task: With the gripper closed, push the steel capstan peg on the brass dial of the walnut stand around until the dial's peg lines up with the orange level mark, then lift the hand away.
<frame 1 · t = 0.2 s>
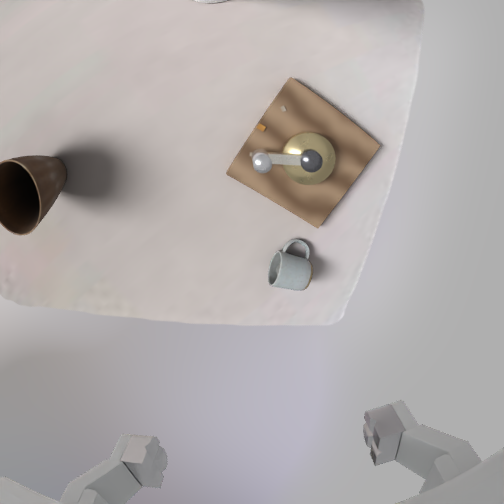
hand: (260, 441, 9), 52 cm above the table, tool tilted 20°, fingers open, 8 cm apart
plant pot: (54, 172, 53), on the table
capstan dial: (296, 160, 49), point 6 cm above the table, hinge at 30.0°
ceramic mug: (288, 257, 67), on the table
level stand: (304, 154, 54), on the table
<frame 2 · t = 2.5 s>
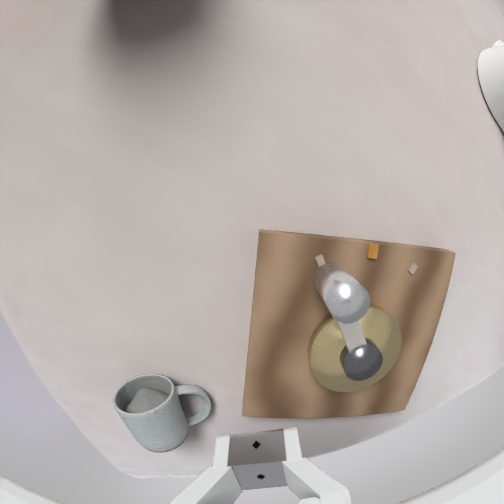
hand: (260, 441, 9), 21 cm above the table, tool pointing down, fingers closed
capstan dial: (357, 344, 24), point 6 cm above the table, hinge at 30.0°
ceramic mug: (170, 394, 33), on the table
level stand: (347, 336, 31), on the table
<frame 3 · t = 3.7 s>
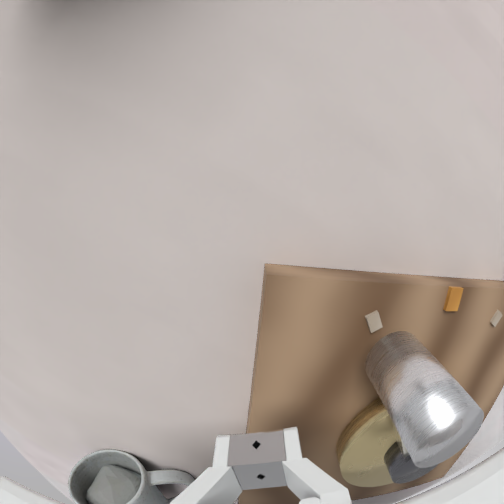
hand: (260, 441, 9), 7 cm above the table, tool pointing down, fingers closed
capstan dial: (419, 449, 11), point 6 cm above the table, hinge at 30.0°
ceramic mug: (144, 471, 20), on the table
level stand: (391, 412, 18), on the table
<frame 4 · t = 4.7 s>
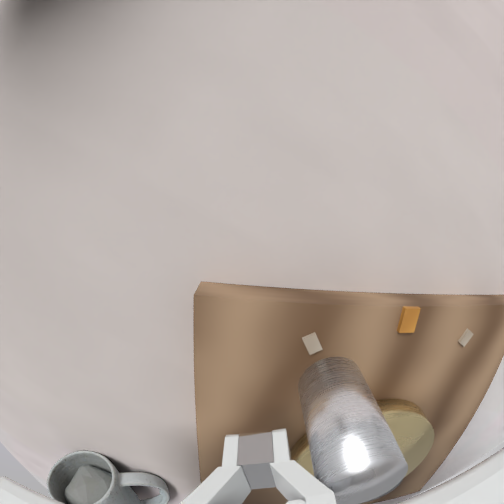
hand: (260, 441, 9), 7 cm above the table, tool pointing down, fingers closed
capstan dial: (367, 474, 11), point 6 cm above the table, hinge at 29.6°, touching gripper
ceramic mug: (120, 472, 20), on the table
level stand: (352, 428, 18), on the table
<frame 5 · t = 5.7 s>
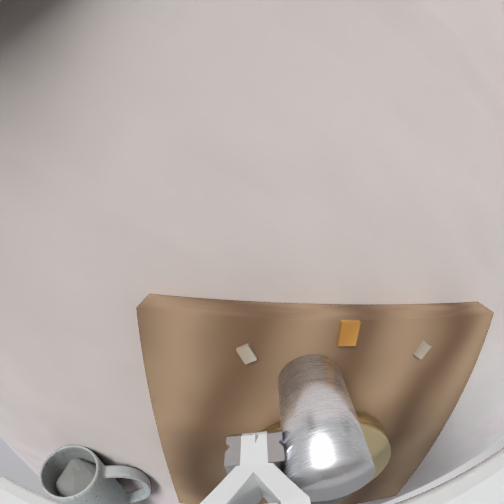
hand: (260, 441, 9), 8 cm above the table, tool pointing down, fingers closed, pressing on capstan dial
capstan dial: (321, 479, 12), point 6 cm above the table, hinge at 13.6°, touching gripper
ceramic mug: (107, 466, 22), on the table
level stand: (312, 433, 19), on the table
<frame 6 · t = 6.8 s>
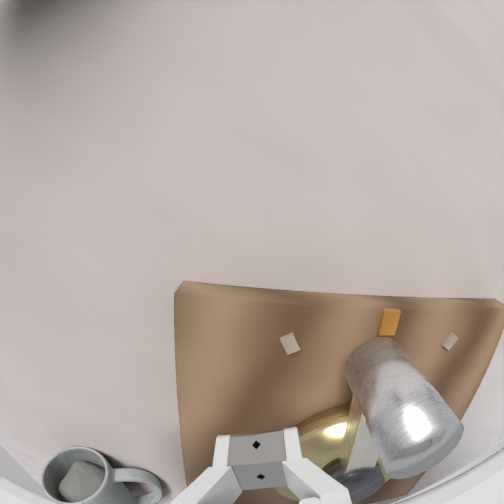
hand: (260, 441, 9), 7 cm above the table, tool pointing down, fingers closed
capstan dial: (364, 470, 12), point 6 cm above the table, hinge at 7.9°
ceramic mug: (113, 468, 21), on the table
level stand: (336, 430, 18), on the table
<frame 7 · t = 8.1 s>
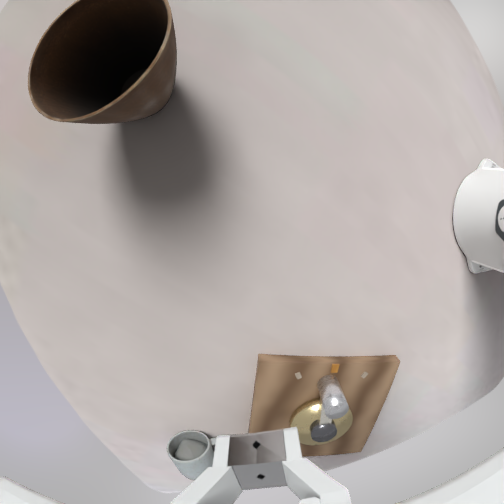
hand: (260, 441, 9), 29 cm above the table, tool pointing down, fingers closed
plant pot: (147, 91, 33), on the table
capstan dial: (326, 423, 36), point 6 cm above the table, hinge at 7.9°
ceramic mug: (203, 441, 45), on the table
level stand: (317, 409, 43), on the table
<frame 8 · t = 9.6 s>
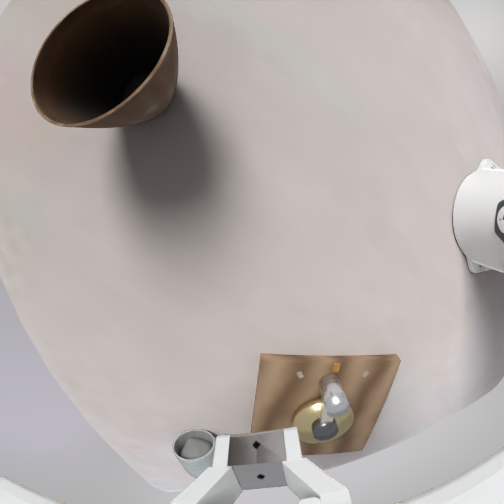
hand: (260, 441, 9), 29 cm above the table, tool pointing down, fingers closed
plant pot: (149, 94, 33), on the table
capstan dial: (327, 421, 37), point 6 cm above the table, hinge at 7.9°
ceramic mug: (208, 440, 46), on the table
level stand: (319, 408, 43), on the table
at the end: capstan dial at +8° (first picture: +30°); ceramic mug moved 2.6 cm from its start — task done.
